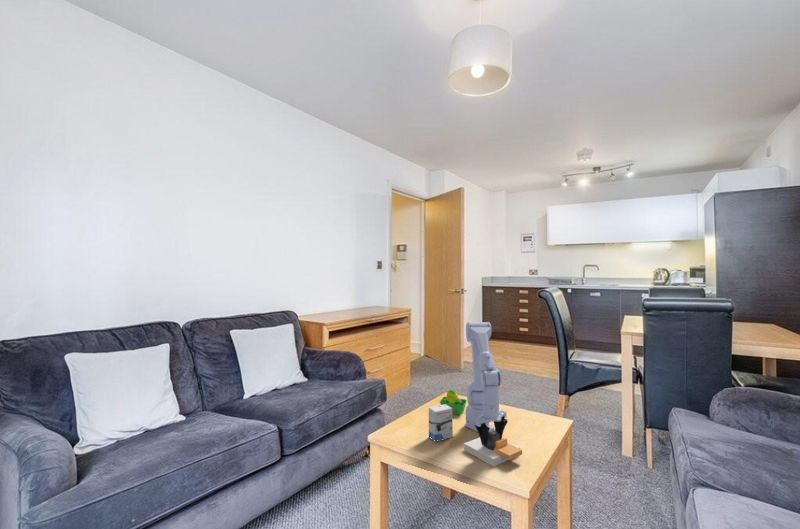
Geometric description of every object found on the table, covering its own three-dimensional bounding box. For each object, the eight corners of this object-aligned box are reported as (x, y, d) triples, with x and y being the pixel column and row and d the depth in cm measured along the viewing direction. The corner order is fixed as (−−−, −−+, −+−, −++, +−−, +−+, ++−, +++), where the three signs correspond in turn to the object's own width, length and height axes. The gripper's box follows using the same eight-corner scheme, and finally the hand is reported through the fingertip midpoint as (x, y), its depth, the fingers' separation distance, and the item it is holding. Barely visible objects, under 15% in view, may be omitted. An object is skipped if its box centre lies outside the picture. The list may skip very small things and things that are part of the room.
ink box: (435, 442, 143) (434, 411, 143) (428, 437, 147) (427, 407, 147) (453, 437, 147) (452, 407, 147) (446, 432, 151) (445, 403, 151)
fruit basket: (467, 410, 175) (466, 386, 175) (462, 417, 167) (462, 392, 167) (444, 407, 180) (443, 383, 180) (438, 413, 172) (437, 389, 172)
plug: (484, 452, 135) (483, 430, 135) (491, 448, 137) (491, 427, 137) (492, 456, 131) (492, 434, 132) (500, 453, 134) (499, 431, 134)
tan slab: (494, 452, 129) (494, 442, 129) (506, 446, 133) (506, 437, 133) (509, 460, 124) (509, 449, 124) (522, 454, 127) (522, 444, 128)
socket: (464, 450, 136) (463, 443, 136) (490, 440, 144) (490, 433, 144) (493, 466, 125) (493, 459, 125) (520, 454, 133) (520, 447, 133)
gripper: (485, 411, 127) (486, 451, 127) (512, 402, 135) (513, 440, 135) (470, 405, 133) (471, 443, 133) (497, 397, 141) (498, 433, 141)
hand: (491, 441), depth 134 cm, fingers open, 7 cm apart
